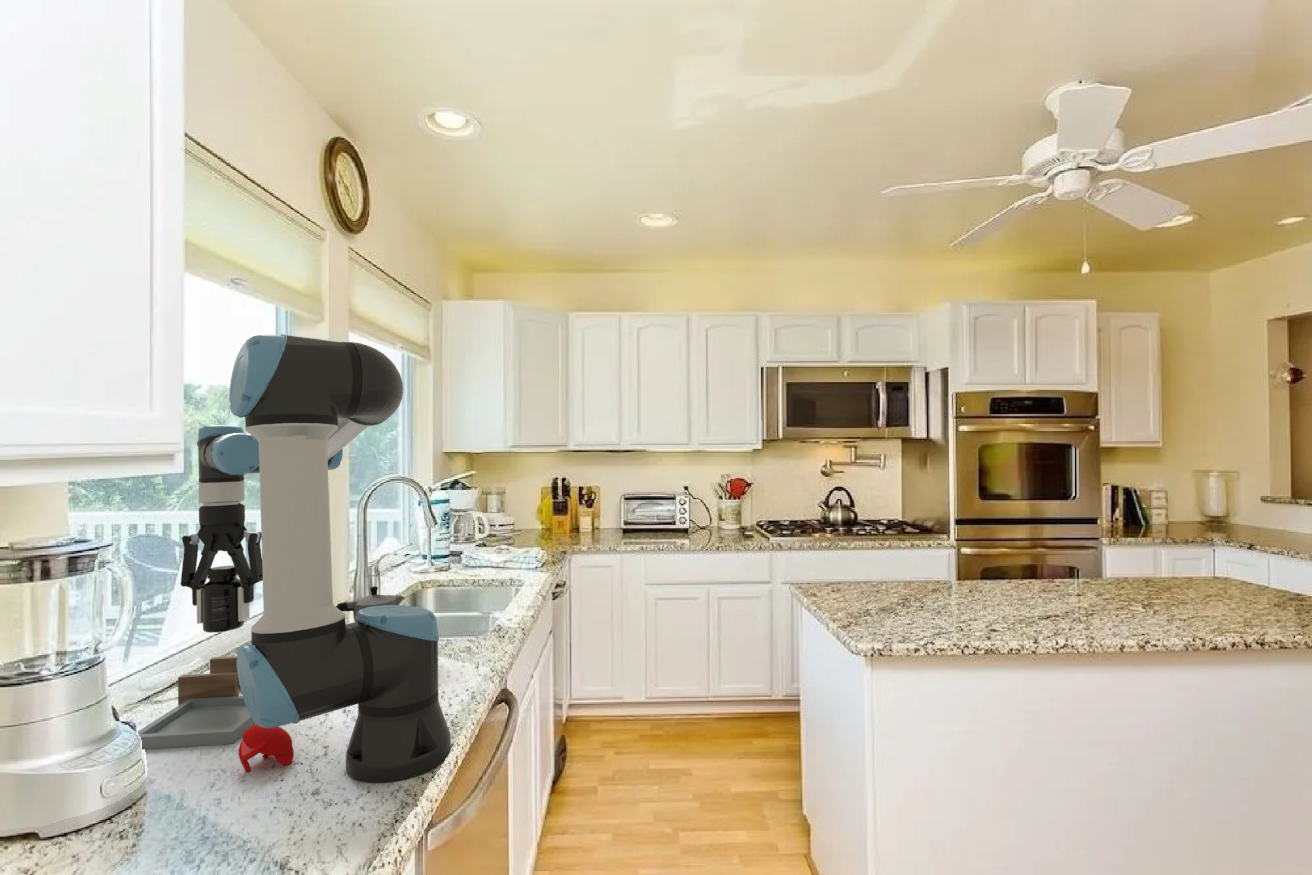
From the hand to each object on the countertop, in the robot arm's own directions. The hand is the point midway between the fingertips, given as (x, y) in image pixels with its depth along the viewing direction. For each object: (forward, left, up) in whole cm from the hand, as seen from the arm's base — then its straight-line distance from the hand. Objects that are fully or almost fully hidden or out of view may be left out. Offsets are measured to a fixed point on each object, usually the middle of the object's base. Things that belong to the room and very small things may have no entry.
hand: (223, 620), depth 125 cm
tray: (-14, -5, -15) cm, 21 cm away
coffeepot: (+11, -24, -15) cm, 30 cm away
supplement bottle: (0, 0, -2) cm, 2 cm away
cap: (-30, -22, -15) cm, 40 cm away
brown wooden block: (0, 0, -15) cm, 15 cm away
